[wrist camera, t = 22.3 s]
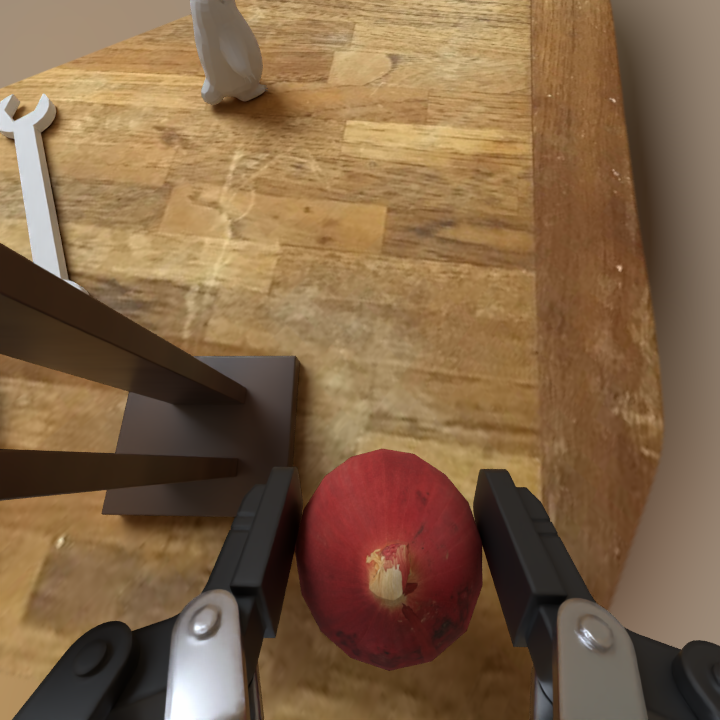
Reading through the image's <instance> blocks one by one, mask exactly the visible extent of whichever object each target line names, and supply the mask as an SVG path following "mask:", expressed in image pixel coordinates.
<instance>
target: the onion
mask: <svg viewBox="0 0 720 720" xmlns="http://www.w3.org/2000/svg"><path fill="white" fill-rule="evenodd" d="M295 554H296V561H297V567H298V574H299V580H300V587H301V593H302V596H303V598H304V600H305V602H306V604H307V606H308V607H309V609H310V611H311V613H312V615H313V617H314V619H315V621H316V623H317V625H318V626H319V628H320V630H321V632H322V633H323V634H324V635H326V636H327V637H328V638H329V639H330V640H331V641H332V642H334V643H335V644H336V645H337V646H338V647H339V648H340V649H342V650H343V651H344V652H345V653H346V654H347V655H348V656H349V657H351V658H353V659H356V660H359V661H362V662H365V663H368V664H371V665H374V666H377V667H380V668H383V669H386V670H388V671H391V670H395V669H400V668H404V667H408V666H413V665H417V664H422V663H426V662H431V661H432V660H434V659H435V658H436V657H437V656H438V655H439V654H441V653H442V652H443V651H444V650H445V649H446V648H448V647H449V646H450V645H451V644H452V643H453V642H454V641H456V640H457V639H458V638H459V637H460V636H461V635H463V634H464V633H465V632H466V631H467V629H468V626H469V623H470V620H471V617H472V614H473V611H474V608H475V605H476V602H477V599H478V597H479V594H480V591H481V588H482V540H481V537H480V534H479V532H478V529H477V526H476V523H475V520H474V517H473V514H472V512H471V509H470V506H469V503H468V501H467V500H466V499H465V498H464V497H463V495H462V494H461V493H460V492H459V491H458V489H457V488H456V487H455V486H454V484H453V483H452V482H451V481H450V480H449V478H448V477H447V476H446V475H445V474H444V473H442V472H441V471H439V470H438V469H436V468H435V467H433V466H432V465H430V464H429V463H427V462H425V461H424V460H422V459H421V458H419V457H418V456H416V455H415V454H411V453H405V452H399V451H393V450H387V449H379V450H375V451H372V452H368V453H364V454H360V455H356V456H353V457H350V458H349V459H348V460H346V461H345V462H344V463H342V464H341V465H340V466H338V467H337V468H335V469H334V470H333V471H331V472H330V473H329V474H327V475H326V476H325V477H324V479H323V480H322V482H321V483H320V485H319V486H318V488H317V490H316V491H315V493H314V494H313V496H312V497H311V499H310V500H309V502H308V504H307V505H306V507H305V509H304V510H303V514H302V519H301V523H300V528H299V532H298V537H297V541H296V546H295Z"/></svg>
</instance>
